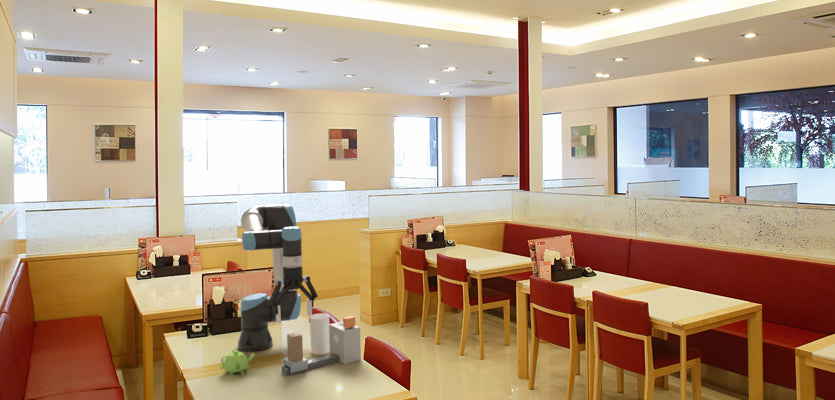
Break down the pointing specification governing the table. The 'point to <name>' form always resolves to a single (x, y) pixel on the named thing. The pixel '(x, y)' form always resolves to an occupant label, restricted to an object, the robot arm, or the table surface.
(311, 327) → the cup
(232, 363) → the teapot
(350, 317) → the block
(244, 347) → the robot arm
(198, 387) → the table surface
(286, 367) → the rail
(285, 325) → the table surface
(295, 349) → the carriage
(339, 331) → the cabinet
